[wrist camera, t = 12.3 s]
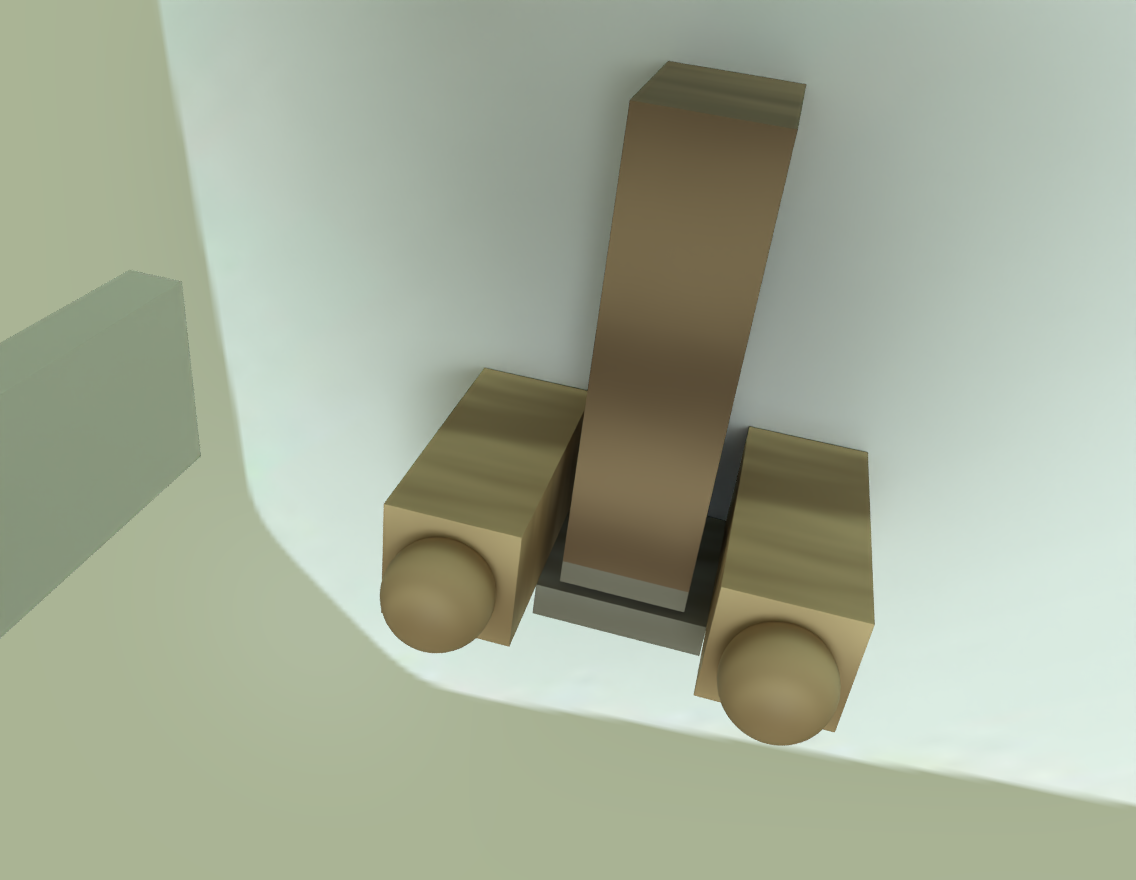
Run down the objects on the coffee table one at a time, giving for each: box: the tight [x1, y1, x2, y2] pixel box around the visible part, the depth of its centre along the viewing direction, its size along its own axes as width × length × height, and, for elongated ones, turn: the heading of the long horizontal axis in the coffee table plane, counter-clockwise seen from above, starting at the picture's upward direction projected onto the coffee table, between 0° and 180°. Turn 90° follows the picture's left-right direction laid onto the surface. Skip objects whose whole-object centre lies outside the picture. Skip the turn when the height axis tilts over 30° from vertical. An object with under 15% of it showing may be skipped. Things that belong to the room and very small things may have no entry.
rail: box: [560, 61, 806, 612], centre depth 29 cm, size 15×4×6 cm, turn 173°
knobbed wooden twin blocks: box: [380, 368, 875, 745], centre depth 30 cm, size 5×14×11 cm, turn 83°
